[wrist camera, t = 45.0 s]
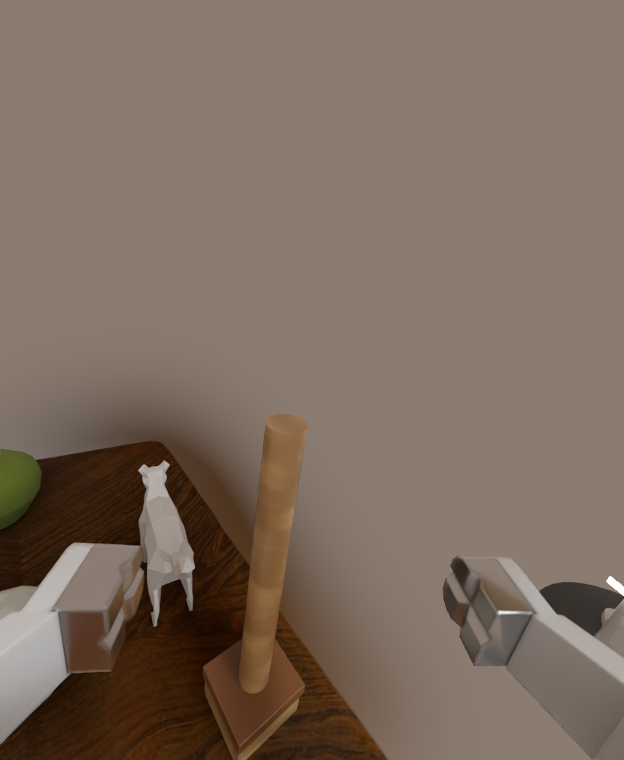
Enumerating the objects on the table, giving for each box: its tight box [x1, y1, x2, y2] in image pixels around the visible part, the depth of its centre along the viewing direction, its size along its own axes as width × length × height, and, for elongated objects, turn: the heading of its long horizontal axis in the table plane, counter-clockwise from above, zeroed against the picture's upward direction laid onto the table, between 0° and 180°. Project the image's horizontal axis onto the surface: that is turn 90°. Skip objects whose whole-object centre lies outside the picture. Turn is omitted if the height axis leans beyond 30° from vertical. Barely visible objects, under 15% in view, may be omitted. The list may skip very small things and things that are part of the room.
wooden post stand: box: [203, 414, 307, 760], centre depth 25 cm, size 6×6×28 cm
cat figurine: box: [138, 461, 195, 627], centre depth 36 cm, size 4×20×14 cm, turn 32°
